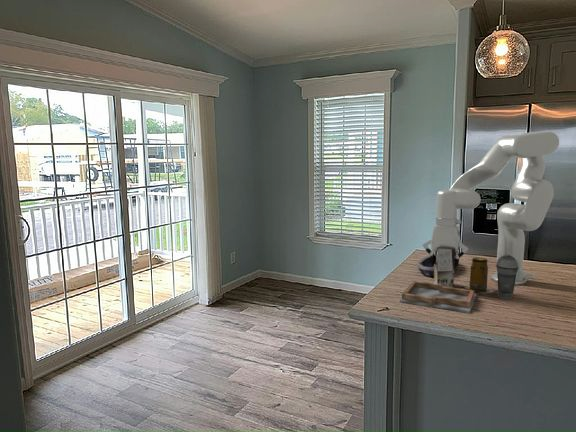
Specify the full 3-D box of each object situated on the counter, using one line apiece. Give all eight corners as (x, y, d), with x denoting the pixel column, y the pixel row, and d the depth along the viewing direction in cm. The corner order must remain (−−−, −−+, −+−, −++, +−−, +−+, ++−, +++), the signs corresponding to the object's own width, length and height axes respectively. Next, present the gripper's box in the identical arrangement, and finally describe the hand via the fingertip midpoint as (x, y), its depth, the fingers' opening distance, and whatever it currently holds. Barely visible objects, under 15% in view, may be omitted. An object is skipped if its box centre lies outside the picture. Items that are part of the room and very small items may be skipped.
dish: (407, 274, 186) (408, 263, 186) (434, 260, 210) (434, 250, 209) (443, 281, 177) (444, 269, 176) (467, 265, 200) (467, 254, 200)
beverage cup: (507, 302, 151) (511, 246, 148) (489, 295, 158) (492, 242, 155) (520, 298, 155) (525, 244, 152) (502, 292, 161) (506, 240, 158)
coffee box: (453, 290, 165) (455, 249, 162) (436, 289, 166) (437, 248, 163) (449, 283, 173) (451, 243, 171) (433, 282, 175) (434, 243, 172)
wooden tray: (476, 296, 158) (476, 288, 157) (469, 313, 141) (469, 305, 141) (412, 286, 169) (413, 280, 169) (399, 301, 153) (399, 294, 152)
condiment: (477, 285, 170) (478, 255, 168) (495, 291, 163) (497, 260, 161) (463, 288, 167) (465, 258, 165) (482, 294, 160) (484, 263, 158)
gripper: (471, 222, 165) (469, 267, 167) (425, 219, 173) (423, 261, 176) (469, 225, 158) (466, 271, 161) (420, 222, 167) (419, 266, 169)
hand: (444, 266), depth 168 cm, fingers open, 7 cm apart
